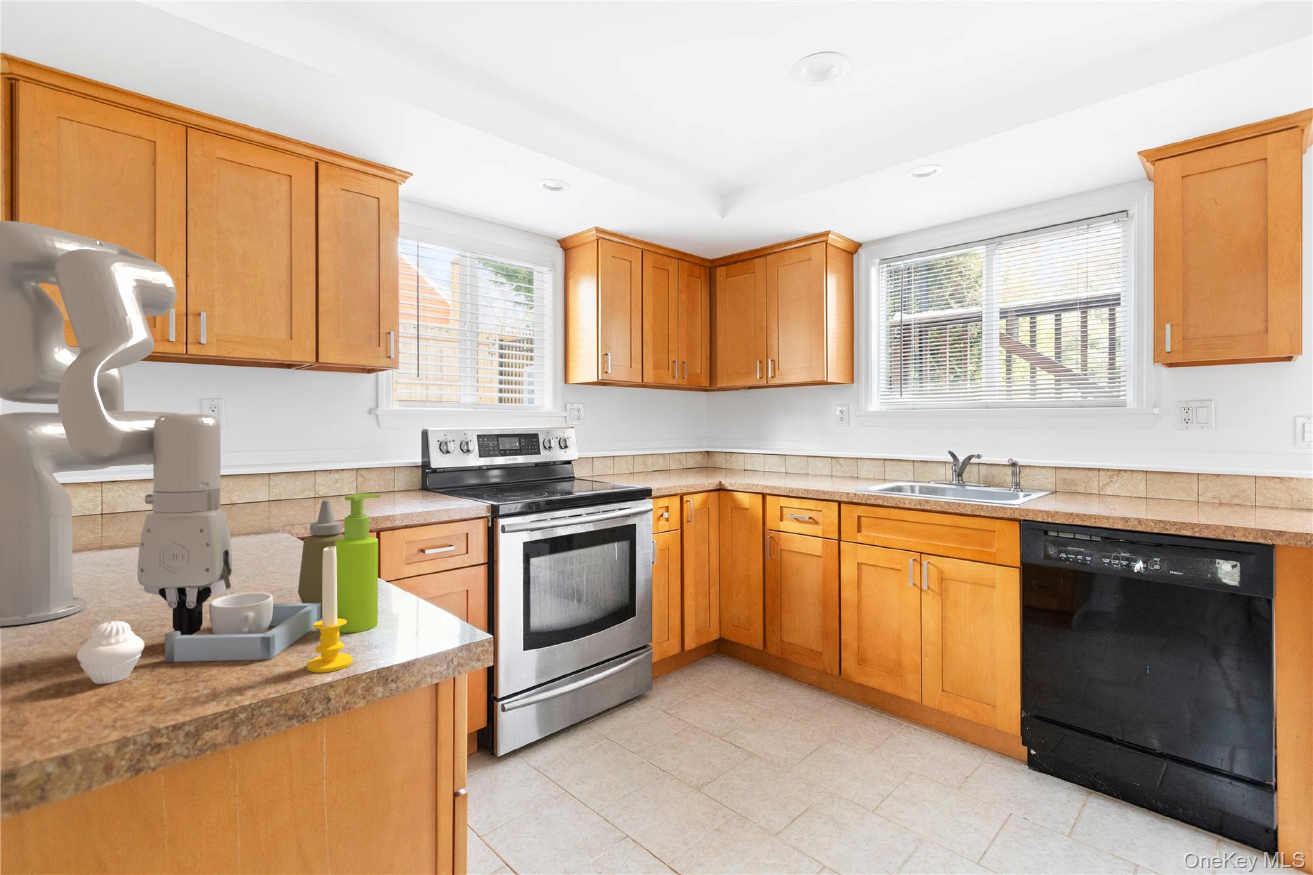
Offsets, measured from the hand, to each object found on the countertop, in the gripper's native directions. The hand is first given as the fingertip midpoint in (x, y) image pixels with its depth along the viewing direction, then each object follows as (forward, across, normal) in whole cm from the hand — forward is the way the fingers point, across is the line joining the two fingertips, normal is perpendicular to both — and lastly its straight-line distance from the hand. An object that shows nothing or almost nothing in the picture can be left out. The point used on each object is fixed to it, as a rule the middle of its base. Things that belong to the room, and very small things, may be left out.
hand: (187, 633), depth 89 cm
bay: (+1, +8, 0) cm, 8 cm away
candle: (+1, +23, -10) cm, 25 cm away
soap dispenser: (+1, +21, +6) cm, 22 cm away
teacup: (+1, +7, +1) cm, 7 cm away
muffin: (+1, -1, -13) cm, 13 cm away
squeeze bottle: (+1, +13, +14) cm, 19 cm away
